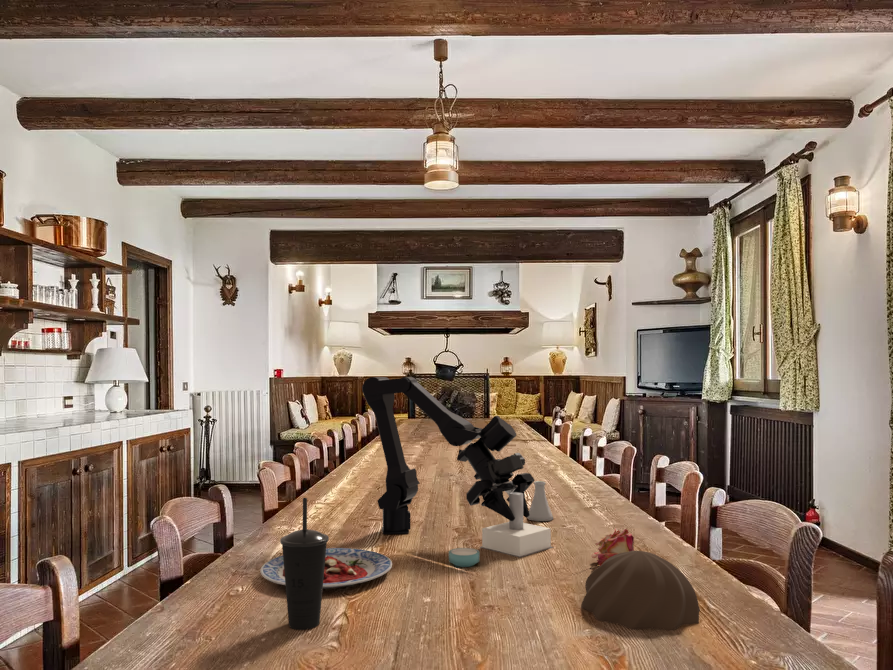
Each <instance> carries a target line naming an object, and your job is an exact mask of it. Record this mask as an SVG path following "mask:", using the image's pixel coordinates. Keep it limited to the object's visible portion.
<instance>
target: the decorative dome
mask: <svg viewBox="0 0 893 670" xmlns="http://www.w3.org/2000/svg"><path fill="white" fill-rule="evenodd" d="M584 584H585V585H584V586H585V593H586V594H585V595H584V597H583V599H582V601H581V608H582V609H583V610H586V611H587V612H590V613H592V614H593V617H594V619H595V620H596V621H599V622H606V623H613V624H617V625H619V626H622V627H625V628H627V629H630V630H645V629H646V630H648V629H655V630H663V631H675V630H677V629H678V628H680V627H681V626H687V625H695V624H699V621H700V612H701V609H700V608H701V607H700V606H699V601H698V600H699V599H698V596H697V593H696V591H695V589H694V587H693V585H692V584H691V582H690V581H689V579H688V578H687V577H686V576H685V574H683V572H682V571H681V570H680V569H679V568H678V567H677V566H675V565H674V564H673V563H672V562H669V561H668V560H667V559H664V558H663V557H661V556H659V555H657V554H655V553H652V552H648V551H644V550H634V551H629V552H623V553H619V554H616V555H614V556H612V557H610V558H608V559H607V560H606V561H605V562H604V563H603V564H602V565H601V566H600V565H598V567H596V568H595V569H594V570H592V571H591V573H590V574H589V575H588V577H587V578H586V581H585V583H584Z"/></svg>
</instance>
